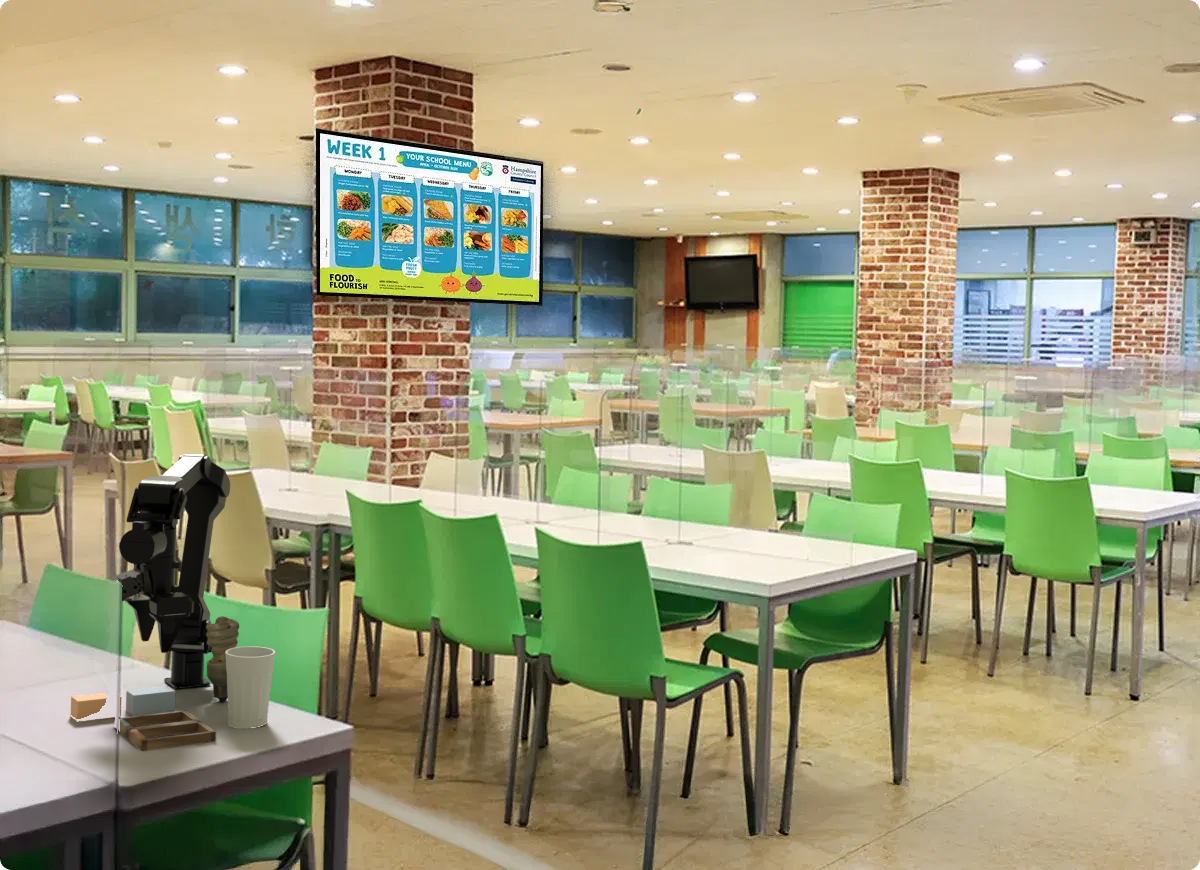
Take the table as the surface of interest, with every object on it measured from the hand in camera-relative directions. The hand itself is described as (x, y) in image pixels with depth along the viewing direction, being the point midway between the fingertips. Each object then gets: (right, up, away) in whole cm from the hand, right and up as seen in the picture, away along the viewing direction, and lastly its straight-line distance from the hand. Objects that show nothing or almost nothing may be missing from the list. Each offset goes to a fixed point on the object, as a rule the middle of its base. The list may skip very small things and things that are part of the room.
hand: (154, 646), depth 226 cm
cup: (+17, -12, -4) cm, 21 cm away
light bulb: (+9, -11, +9) cm, 16 cm away
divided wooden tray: (+6, -12, -12) cm, 18 cm away
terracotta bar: (-8, -11, -5) cm, 14 cm away
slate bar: (-1, -11, +1) cm, 11 cm away
